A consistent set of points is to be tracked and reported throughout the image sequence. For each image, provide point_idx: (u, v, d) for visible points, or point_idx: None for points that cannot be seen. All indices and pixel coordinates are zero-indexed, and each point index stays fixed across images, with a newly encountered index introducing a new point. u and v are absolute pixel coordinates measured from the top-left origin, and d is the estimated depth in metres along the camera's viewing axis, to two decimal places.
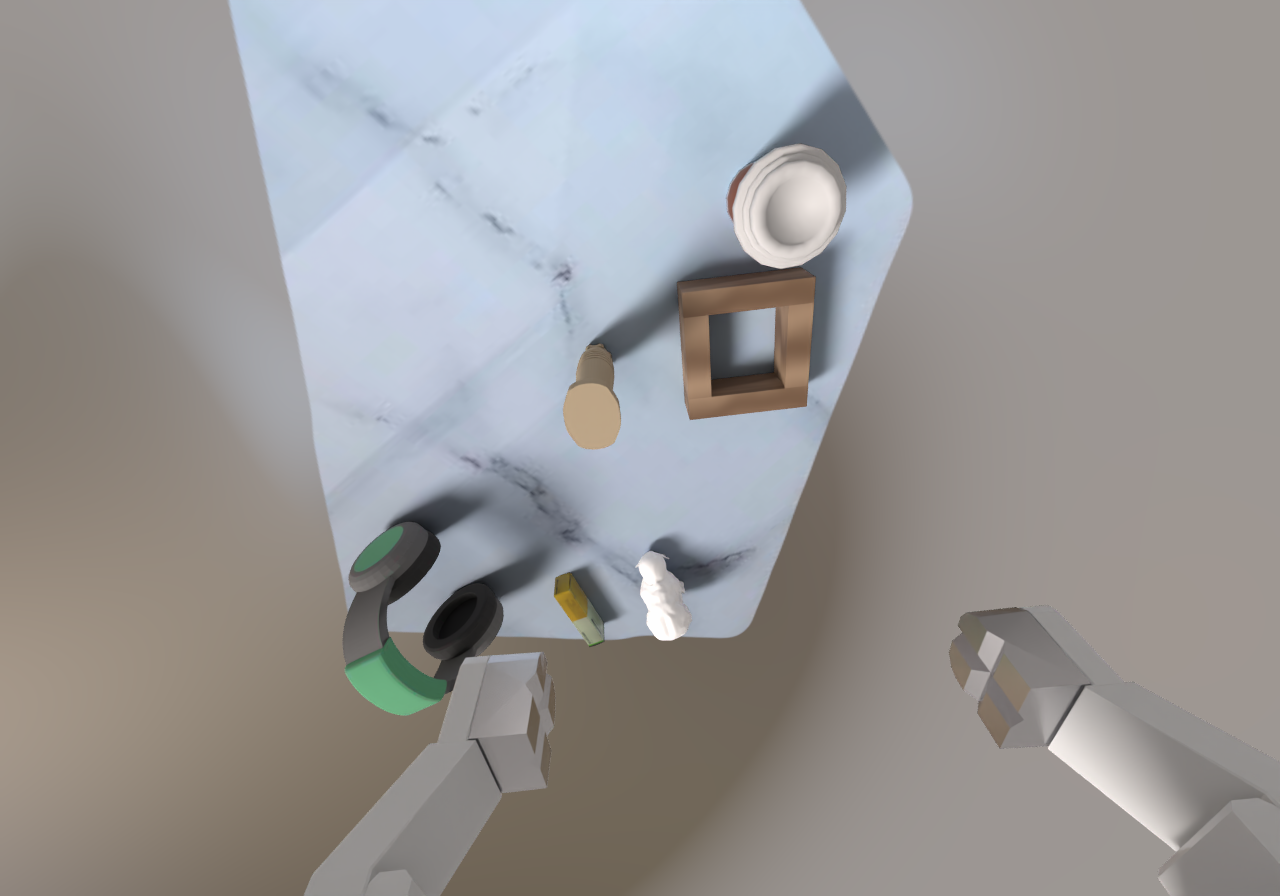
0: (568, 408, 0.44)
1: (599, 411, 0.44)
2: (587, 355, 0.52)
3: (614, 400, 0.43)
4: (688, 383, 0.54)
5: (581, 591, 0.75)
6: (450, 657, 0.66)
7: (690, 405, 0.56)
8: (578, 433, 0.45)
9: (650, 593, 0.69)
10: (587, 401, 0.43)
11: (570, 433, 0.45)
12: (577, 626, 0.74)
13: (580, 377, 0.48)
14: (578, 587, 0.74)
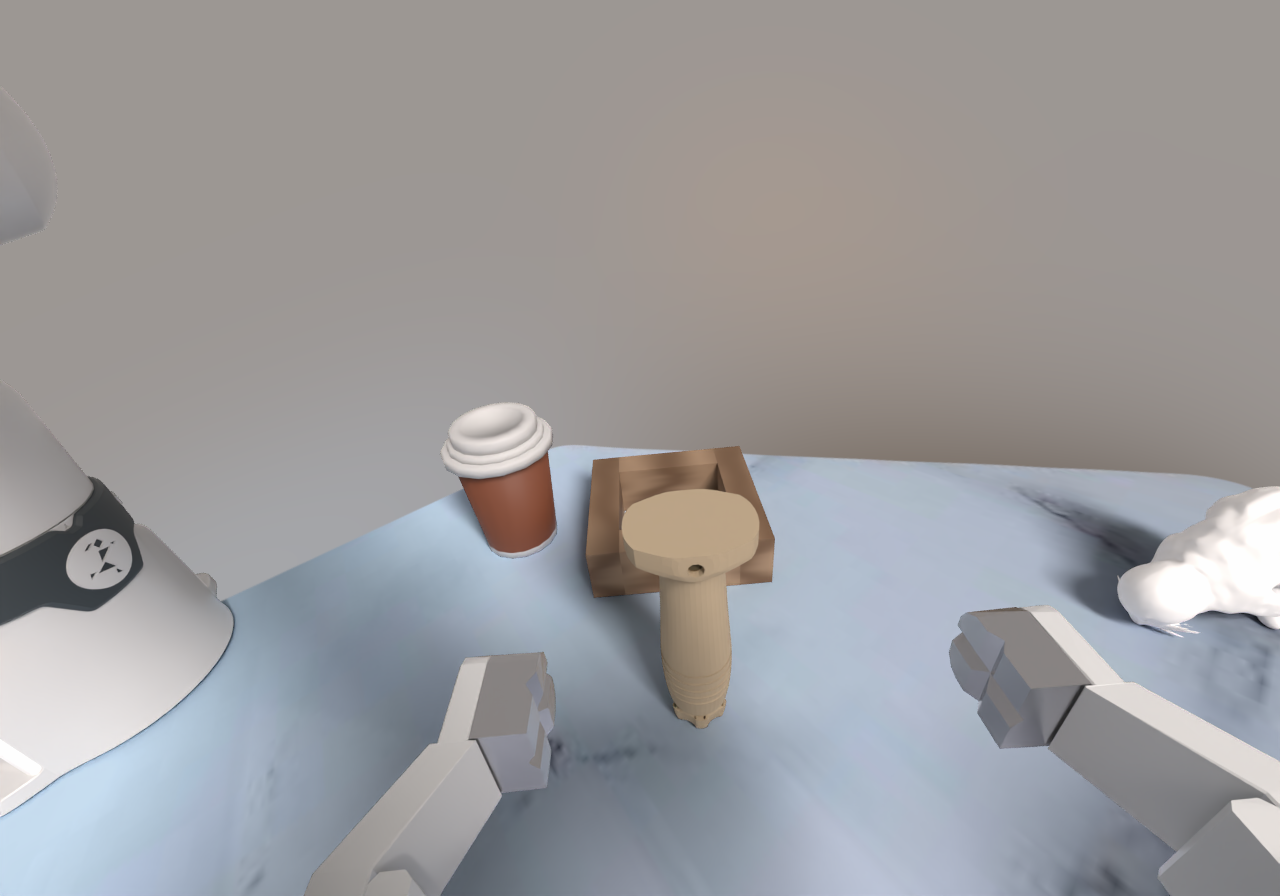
0: (670, 550, 0.22)
1: (677, 512, 0.25)
2: (664, 669, 0.29)
3: (657, 496, 0.26)
4: None
5: None
6: None
7: None
8: (724, 538, 0.23)
9: (1226, 567, 0.31)
10: (656, 526, 0.24)
11: (725, 549, 0.22)
12: None
13: (669, 626, 0.26)
14: None
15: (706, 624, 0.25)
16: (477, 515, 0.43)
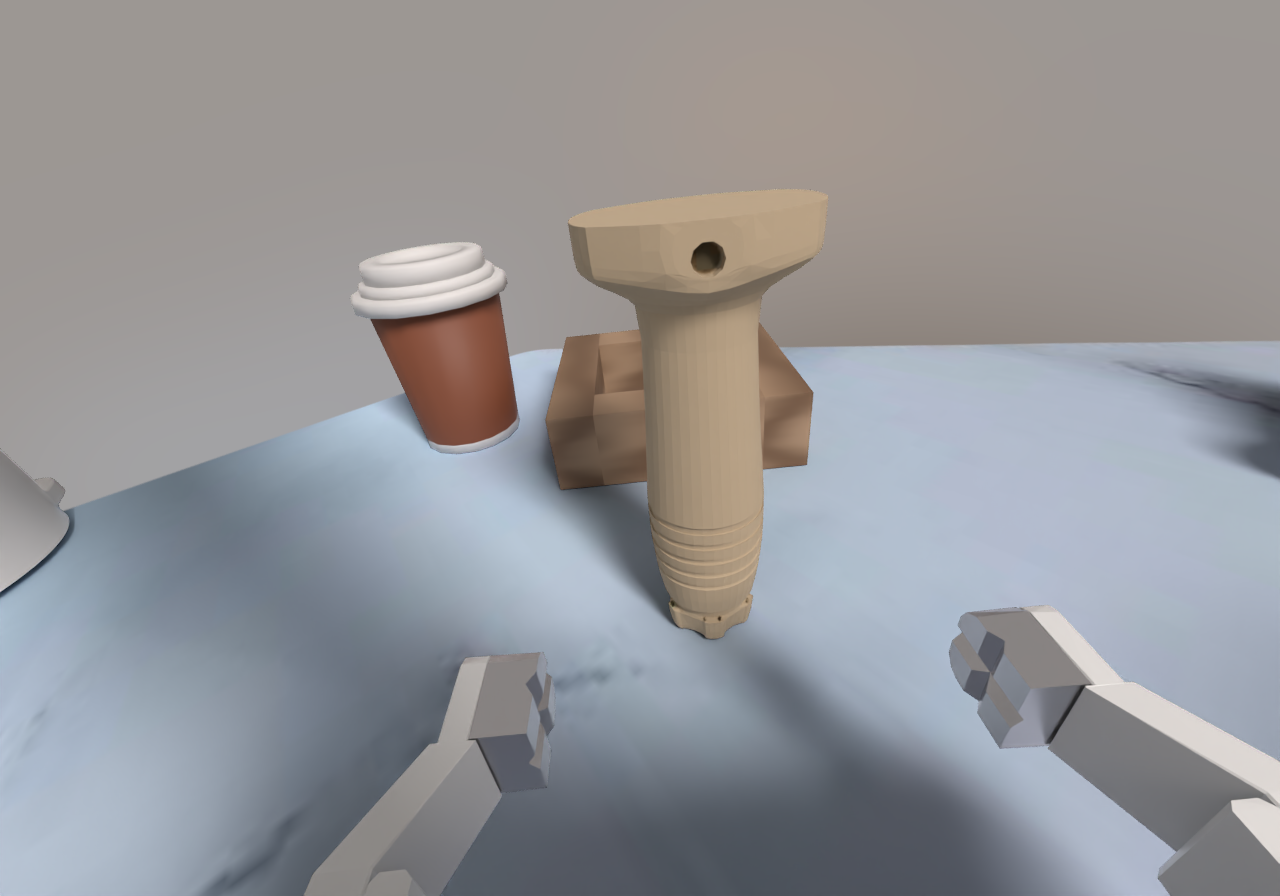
0: (656, 221, 0.11)
1: (671, 206, 0.14)
2: (654, 536, 0.18)
3: (637, 203, 0.15)
4: None
5: None
6: None
7: (778, 394, 0.27)
8: (762, 206, 0.12)
9: None
10: (632, 214, 0.13)
11: (766, 210, 0.11)
12: None
13: (660, 435, 0.15)
14: None
15: (725, 420, 0.14)
16: (406, 391, 0.32)
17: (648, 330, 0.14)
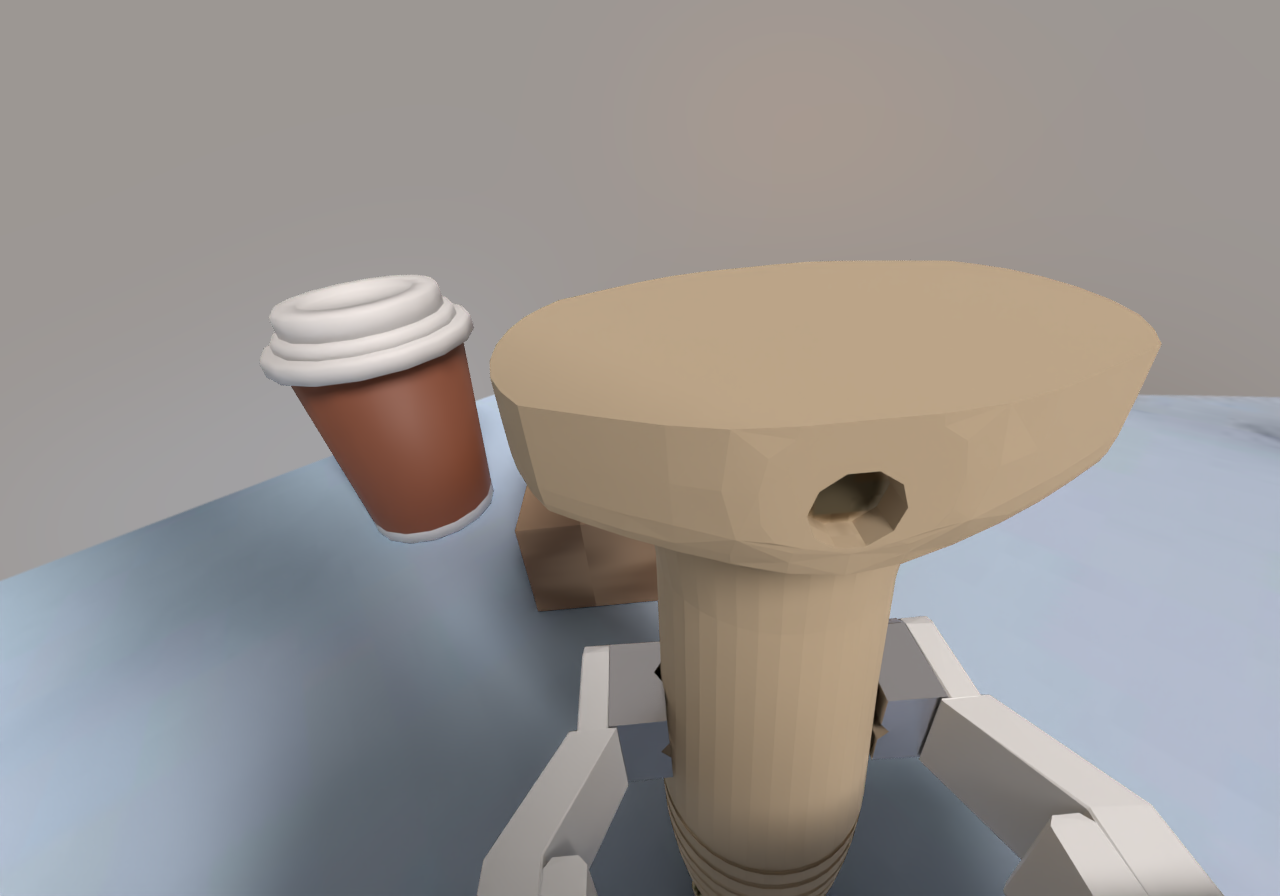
0: (712, 399, 0.04)
1: (725, 304, 0.06)
2: (673, 820, 0.11)
3: (649, 282, 0.07)
4: None
5: None
6: None
7: None
8: (990, 349, 0.04)
9: None
10: (641, 335, 0.06)
11: (1036, 384, 0.04)
12: None
13: (691, 726, 0.08)
14: None
15: (827, 731, 0.07)
16: (342, 467, 0.25)
17: (673, 567, 0.06)
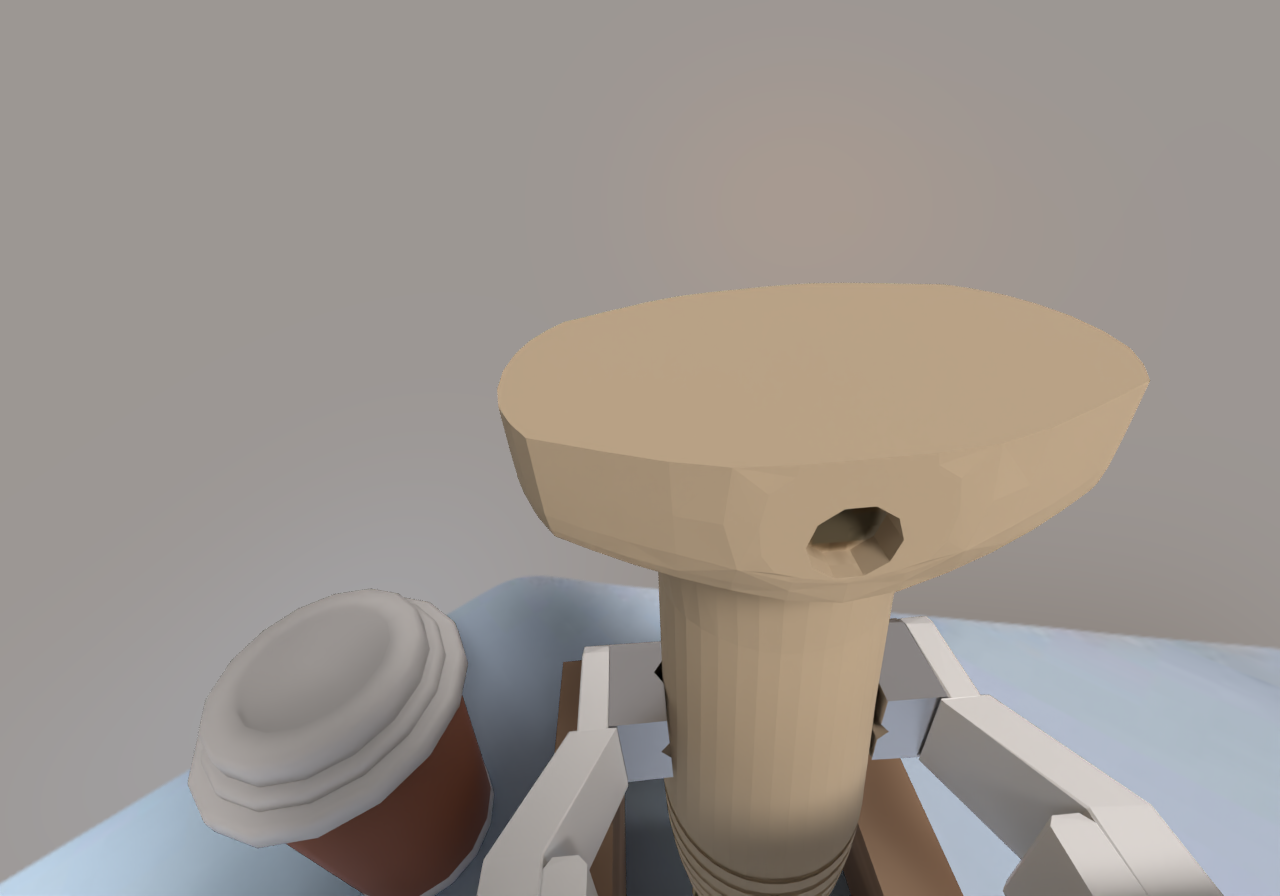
0: (714, 434, 0.04)
1: (727, 328, 0.06)
2: (674, 828, 0.11)
3: (652, 303, 0.08)
4: None
5: None
6: None
7: None
8: (984, 384, 0.05)
9: None
10: (645, 363, 0.06)
11: (1027, 422, 0.04)
12: None
13: (693, 739, 0.08)
14: None
15: (825, 745, 0.07)
16: None
17: (676, 586, 0.07)
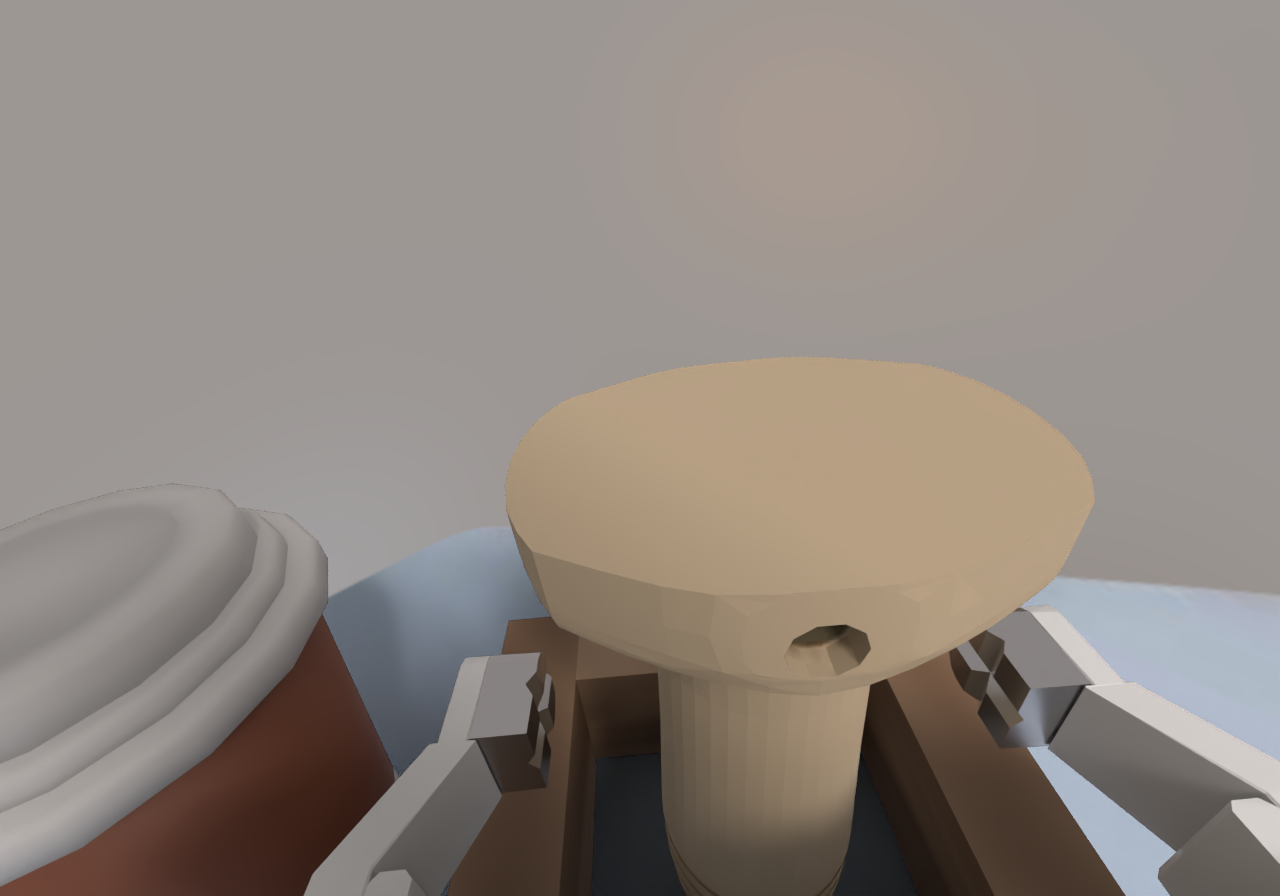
0: (701, 554, 0.05)
1: (716, 414, 0.07)
2: (673, 854, 0.11)
3: (648, 378, 0.08)
4: None
5: None
6: None
7: None
8: (947, 499, 0.05)
9: None
10: (641, 458, 0.06)
11: (980, 550, 0.04)
12: None
13: (689, 783, 0.08)
14: None
15: (812, 794, 0.08)
16: None
17: None
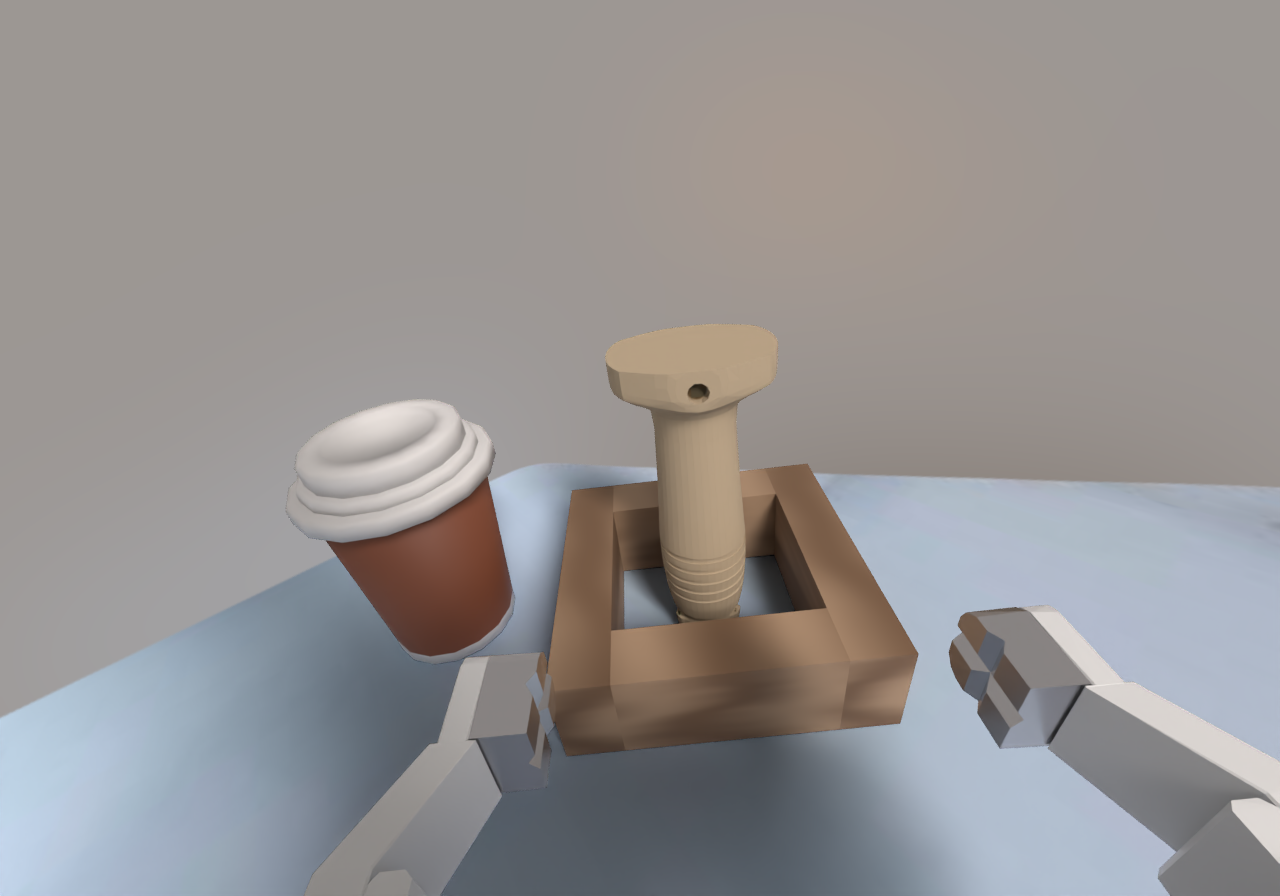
0: (664, 368, 0.18)
1: (674, 342, 0.20)
2: (665, 563, 0.24)
3: (650, 333, 0.21)
4: (798, 664, 0.19)
5: None
6: None
7: (868, 655, 0.19)
8: (734, 356, 0.18)
9: None
10: (648, 353, 0.19)
11: (735, 363, 0.17)
12: None
13: (668, 494, 0.21)
14: None
15: (713, 486, 0.20)
16: (366, 596, 0.25)
17: (659, 427, 0.20)
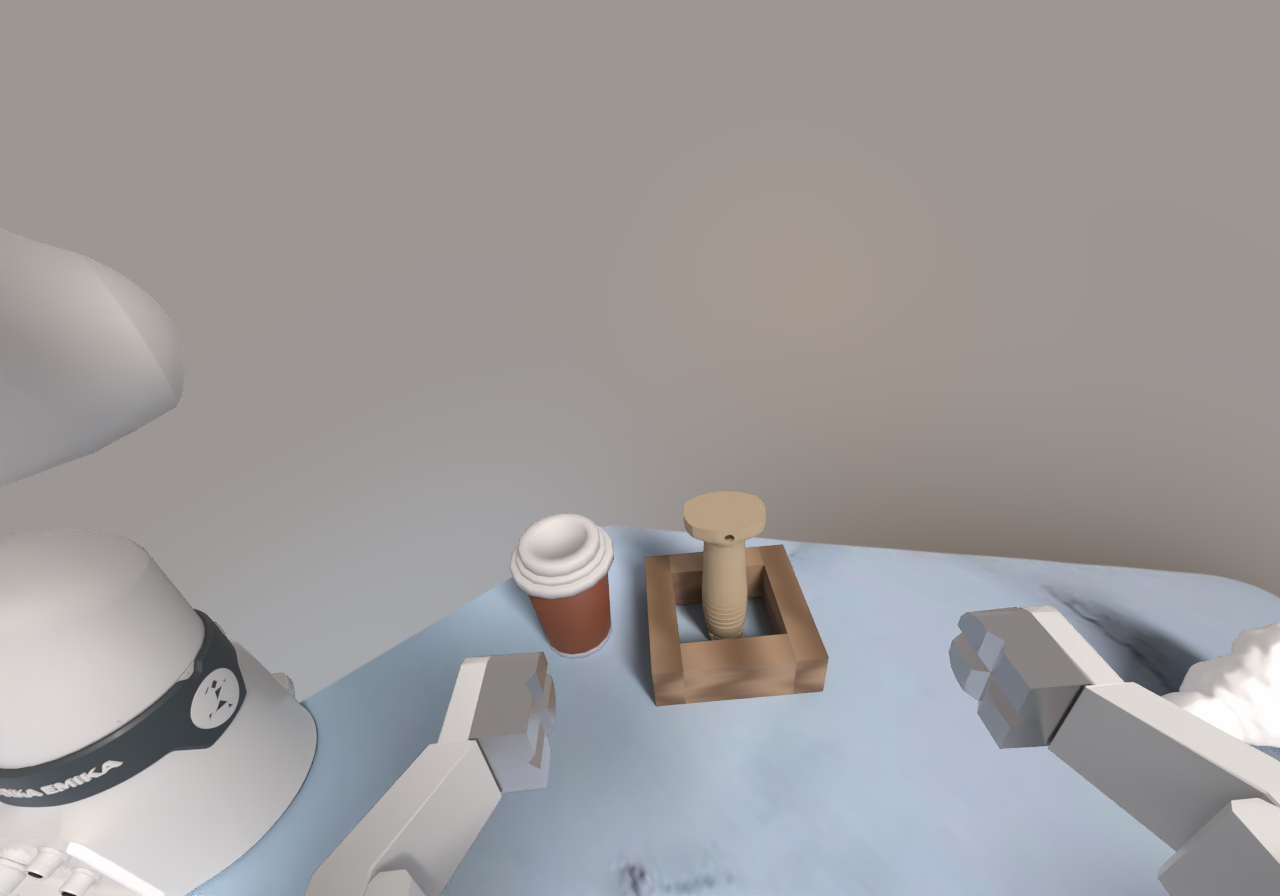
0: (714, 526, 0.39)
1: (716, 505, 0.41)
2: (704, 606, 0.45)
3: (703, 495, 0.42)
4: (772, 661, 0.40)
5: None
6: None
7: (805, 657, 0.40)
8: (745, 520, 0.39)
9: (1253, 706, 0.33)
10: (704, 513, 0.40)
11: (746, 526, 0.38)
12: None
13: (710, 575, 0.42)
14: None
15: (733, 573, 0.42)
16: (541, 621, 0.46)
17: (708, 545, 0.41)
